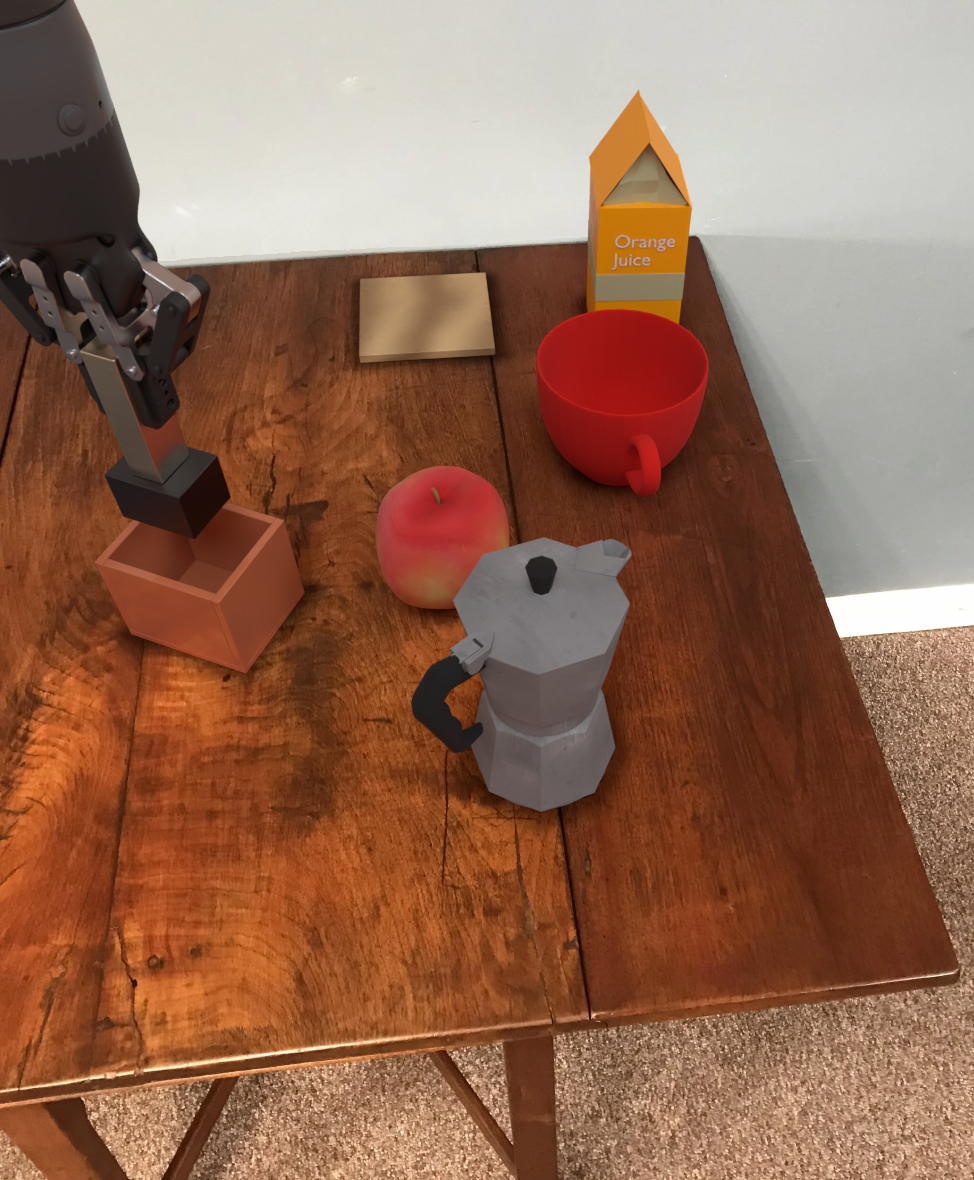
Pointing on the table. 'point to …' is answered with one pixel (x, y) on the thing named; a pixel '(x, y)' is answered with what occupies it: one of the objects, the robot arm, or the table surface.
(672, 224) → the orange juice
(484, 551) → the apple
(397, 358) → the board
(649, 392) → the ceramic cup
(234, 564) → the box
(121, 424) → the steel square post
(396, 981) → the table surface
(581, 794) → the coffeepot
